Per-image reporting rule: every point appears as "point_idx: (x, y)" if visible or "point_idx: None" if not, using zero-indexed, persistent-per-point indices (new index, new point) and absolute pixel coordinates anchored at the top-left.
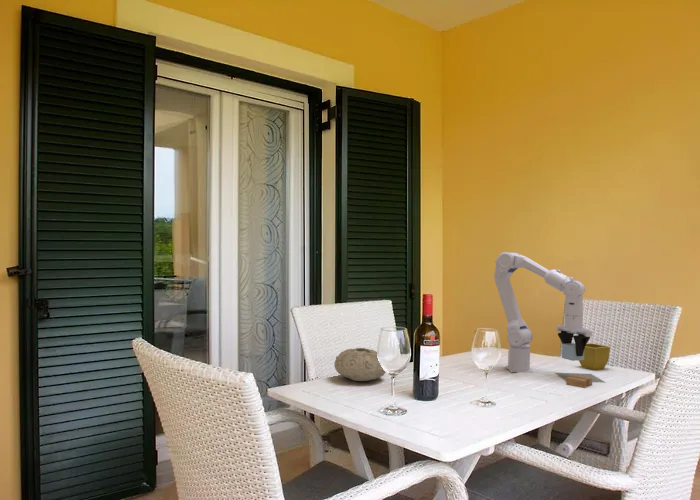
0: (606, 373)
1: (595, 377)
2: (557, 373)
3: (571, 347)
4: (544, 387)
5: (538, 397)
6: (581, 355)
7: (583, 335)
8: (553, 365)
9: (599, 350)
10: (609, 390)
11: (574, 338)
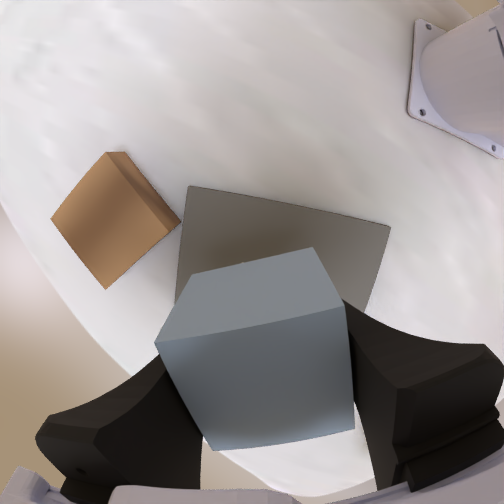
0: (342, 432)
1: None
2: (369, 234)
3: (179, 329)
4: (106, 41)
5: (15, 11)
6: None
7: (65, 488)
8: (501, 307)
9: None
10: (70, 301)
11: (106, 419)
